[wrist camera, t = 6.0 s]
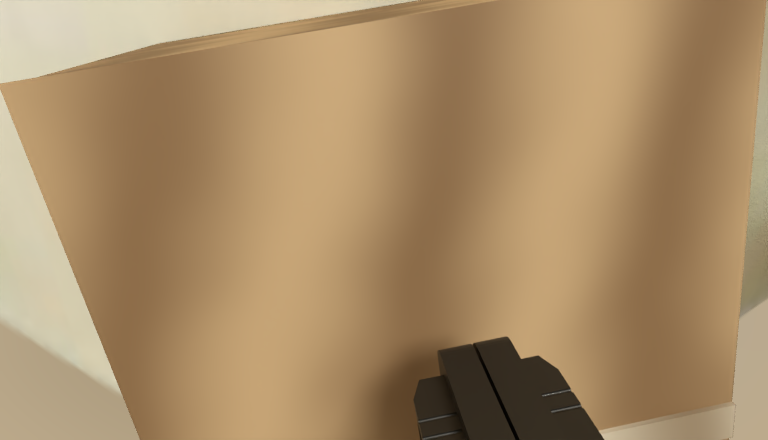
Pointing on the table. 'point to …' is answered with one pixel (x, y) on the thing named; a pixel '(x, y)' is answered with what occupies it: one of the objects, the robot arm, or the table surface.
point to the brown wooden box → (276, 31)
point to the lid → (413, 214)
